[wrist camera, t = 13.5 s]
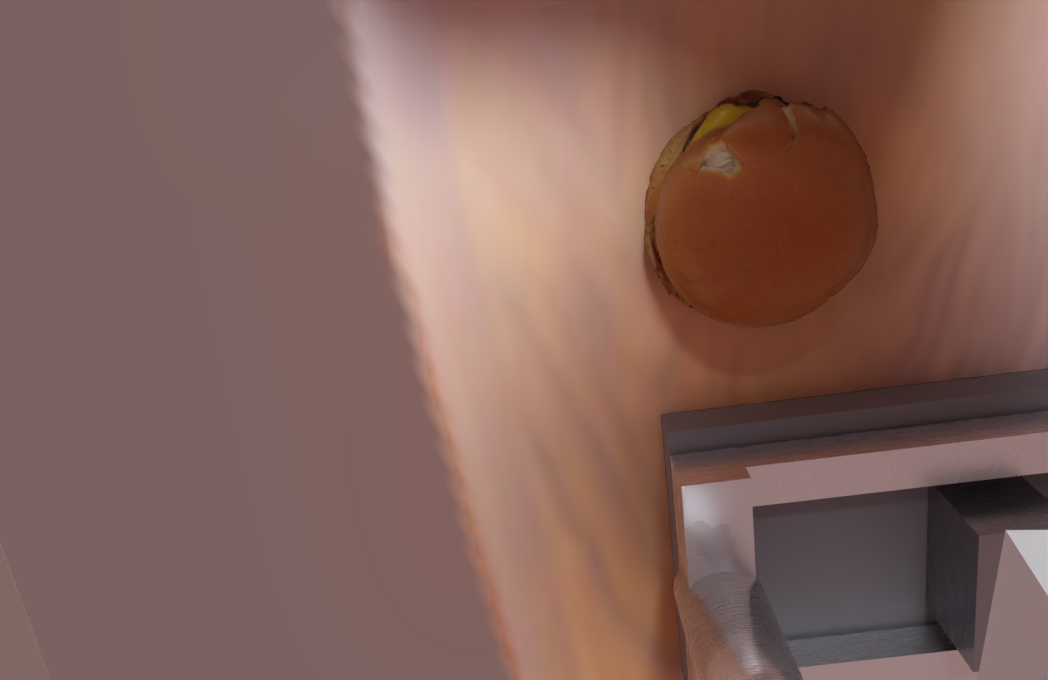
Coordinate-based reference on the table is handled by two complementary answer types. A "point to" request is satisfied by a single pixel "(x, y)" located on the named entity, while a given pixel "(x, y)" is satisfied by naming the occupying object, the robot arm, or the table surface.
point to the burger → (760, 210)
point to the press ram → (807, 474)
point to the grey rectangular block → (973, 552)
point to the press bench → (847, 501)
